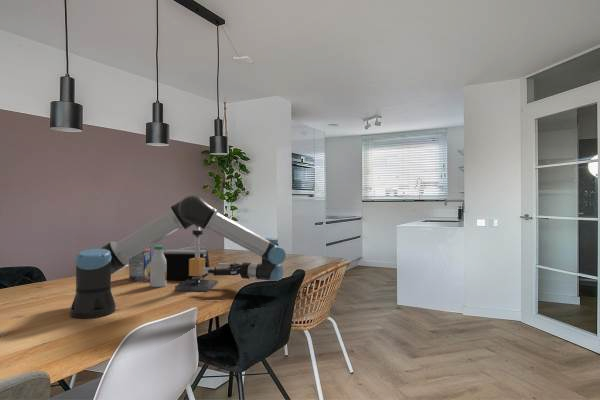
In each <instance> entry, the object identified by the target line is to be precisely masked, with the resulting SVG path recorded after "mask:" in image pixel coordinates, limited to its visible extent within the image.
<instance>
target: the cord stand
mask: <svg viewBox="0 0 600 400" xmlns="http://www.w3.org/2000/svg"><path fill="white" fill-rule="evenodd" d="M203 230H204V229H201V227H199V226H196V225H194V229H193V230H192V233H191V234H192V235H193V236H194V250H195V259H200V250H201V235H203ZM201 279H202V276H192V280H191V279H187V280H185V281H181V282H180V283H178V284H176V285H175V286H174V291H176V292H181V291H183V292H210V291H211V290H212V289H213V288H215V285H216V284H217V285H218V283H219V281H218V279H202V280H201ZM217 285H216V286H217ZM210 289H211V290H210Z"/></svg>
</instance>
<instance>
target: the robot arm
mask: <svg viewBox="0 0 600 400" xmlns="http://www.w3.org/2000/svg"><path fill="white" fill-rule="evenodd" d="M193 225H194V226H195V225H196V226H199V227H200V229H202V230H210V231H212V232H214V233H216V234H218V235H220V236H221V237H223V238H225V239H228V241H231V242H233V243H234V244H236V245H238V246H240V247H242V248H244V249H245V250H248V251H250V252H252V253H253V254H255V255H257V256H259V257H261V263H260V262H246V261H245V262H242V264H240V263H237V262H236V263H235V262H234V263H223V262H218V263H217V268H216V266H215V267H210V268H205V267H204V268H203V274H208V275H213V276H233V277H234V276H238V275H240V278H242V279H243V280H244V279H245V280H255V281H257V280H259V281H268V282H273V281H275V282H278V281H279V280H280V281H281V280H282V279H283V276H284V267H283V265H282V263H284V262H285V260H286V258H287V253H286V251H285V249H284V248H283V247H281V246H279V240H278V238H277V237H266V238H265V237H263V236H261V235H260V234H257V233H256V232H254V231H252V230H251V229H249V228H246V227H245V226H243V225H242V224H239V223H238V222H236V221H234V220H232V219H230V218H229V217H227V216H225V215H223V214H221V213H220V212H218V210H217V208H215V207H213V206H211V205H210V204H209V203H207V202H206V200H204V198H202V197H200V196H198V195H188V196H186V197H184V198H183V199H182V200H180V201H178V202H177V203H175V204H173V205H171V206H170V207H169V210H168V212H166V213H165V214H163V215H161V216H160V217H158V218H157V219H154V220H152V221H151V222H149V223H148V224H146V225H144V226H143V227H141V228H139V229H137V230H136V231H134V232H132V233H131V234H129V235H127V236H125V237H124V238H122V239H121V240H119V241H118V242H116V241H110V242H108V243H106V244H105V245H103V246H102V247H99V248H90V249H86V250H85V249H84V250H81V251H80V252H78V253H77V254H76V259H75V296H74V298H73V301H72V304H71V306H70V310H69V311H70V312H69V315H70V317H71V318H76V319H91V318H93V319H94V318H98V317H99V318H100V317H104V316H107V315H111V314H113V313H115V312H116V310H117V309H116V308H117V306H116V301H115V299H114V297H113V296H114V295H113V294H112V293H113V292H112V290H111V289H112V287H111V285H112V284H111V282H112V279H111V278H112V275H113V274H114V273H116V272H118V271H119V270H121V269H122V268H124V267H127V265H128V264H129V259H130V258H132V257H134V256H135V255H137V254H139V253H140V252H142V251H144V250H145V249H147V248H149V247H150V246H151V247H152V246H153V245H154V246H155V244H157V243H158V242H160V241H162V240H163V239H165V238H168V237H169V236H170V235H171V234H173V233H176V231H179V230H187V229H188V228H190V227H191V226H193ZM280 281H279V282H280Z"/></svg>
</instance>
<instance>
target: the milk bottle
mask: <svg viewBox="0 0 600 400" xmlns="http://www.w3.org/2000/svg"><path fill="white" fill-rule="evenodd" d="M163 251H164V245H161V244H160V245H154V246H153V255H152V256H151V263H150V277H149V287H151V288H162V287H166V286H167V284H168V283H167V282H168V281H167V263H166V258H165V256H164V254H163Z"/></svg>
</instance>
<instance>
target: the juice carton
mask: <svg viewBox="0 0 600 400" xmlns="http://www.w3.org/2000/svg"><path fill="white" fill-rule="evenodd" d="M151 259H152V246H150V247H149V248H147V249H145V250H144V251H142V252H140V253H139V254H137V255H135V256H134V257H132V258H130V259H129V260H128V264H129V266H128V267H129V271H128V274H129V278H128V279H129V282H144V281H146V280H147V279H150V263H151Z"/></svg>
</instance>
